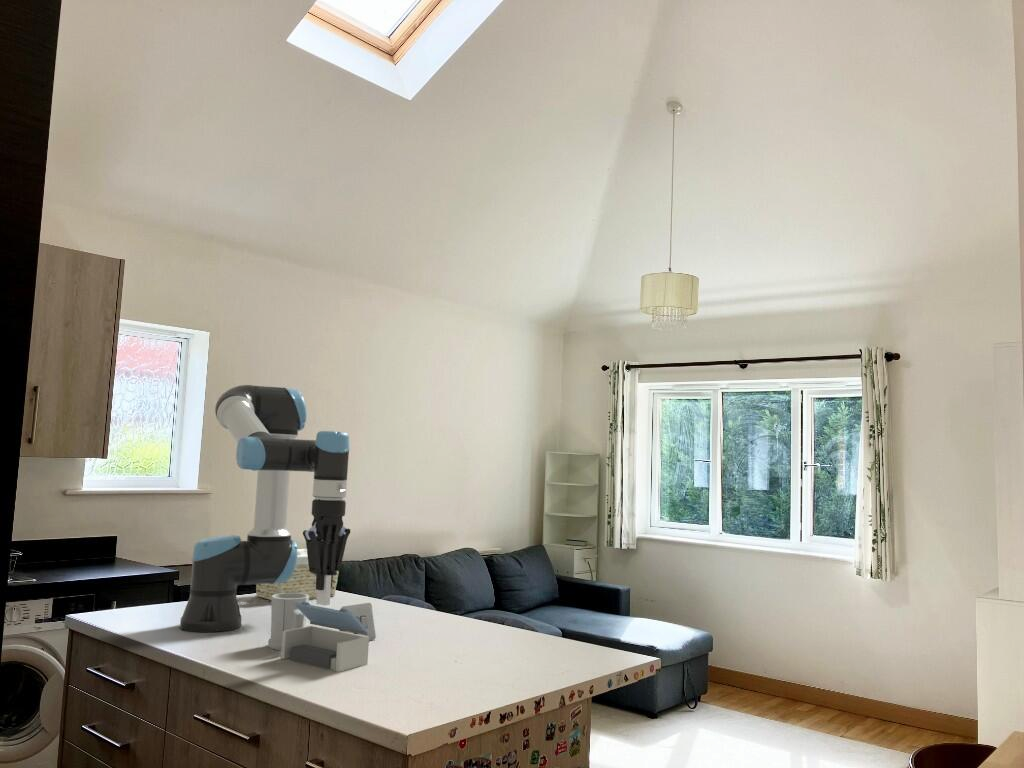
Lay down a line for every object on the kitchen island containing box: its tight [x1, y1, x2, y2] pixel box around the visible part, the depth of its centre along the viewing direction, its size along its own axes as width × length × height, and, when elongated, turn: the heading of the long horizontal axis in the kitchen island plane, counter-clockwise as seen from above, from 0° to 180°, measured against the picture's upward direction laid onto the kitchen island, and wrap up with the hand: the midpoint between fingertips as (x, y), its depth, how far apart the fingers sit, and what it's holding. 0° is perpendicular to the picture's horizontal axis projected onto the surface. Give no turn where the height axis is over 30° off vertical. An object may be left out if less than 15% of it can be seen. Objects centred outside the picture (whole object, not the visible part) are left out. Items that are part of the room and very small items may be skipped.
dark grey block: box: [289, 644, 337, 671], centre depth 178 cm, size 13×4×3 cm, turn 58°
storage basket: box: [255, 548, 340, 601], centre depth 262 cm, size 24×16×15 cm
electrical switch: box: [338, 602, 377, 642], centre depth 202 cm, size 9×5×9 cm, turn 141°
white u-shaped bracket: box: [280, 624, 370, 673], centre depth 180 cm, size 18×9×6 cm, turn 58°
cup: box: [267, 593, 310, 651], centre depth 193 cm, size 10×9×12 cm
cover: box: [295, 601, 368, 635], centre depth 182 cm, size 18×8×2 cm
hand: (322, 604), depth 180 cm, fingers closed
